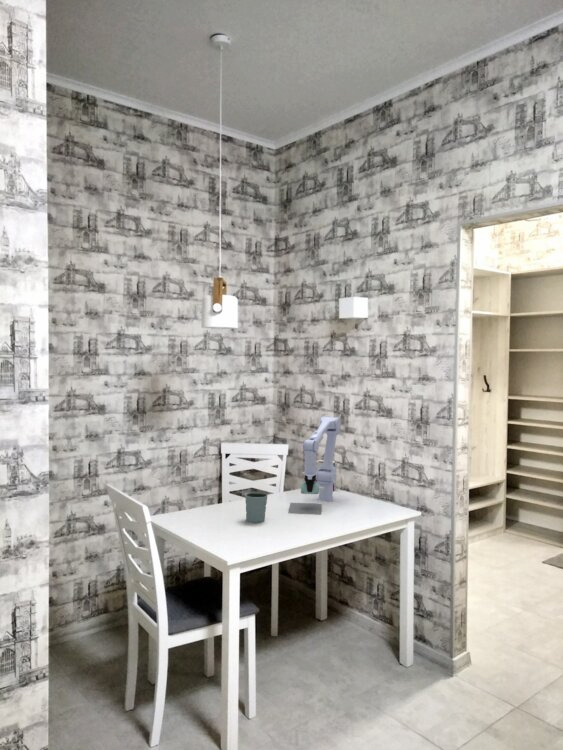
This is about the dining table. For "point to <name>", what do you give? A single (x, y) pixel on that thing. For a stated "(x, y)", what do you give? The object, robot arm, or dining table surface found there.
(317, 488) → the teal plug
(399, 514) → the dining table surface
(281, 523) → the dining table surface
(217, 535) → the dining table surface
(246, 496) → the teal cup
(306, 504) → the charcoal mat
